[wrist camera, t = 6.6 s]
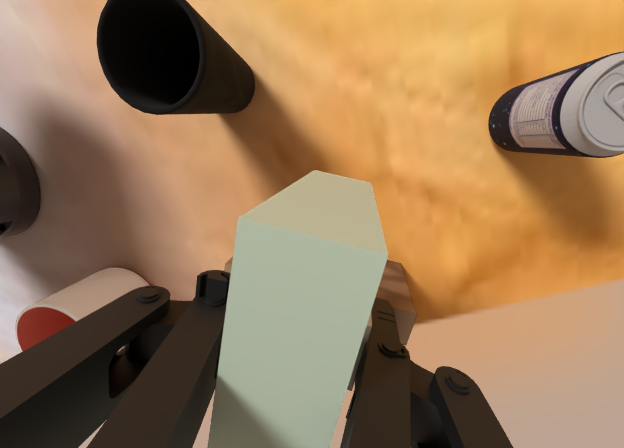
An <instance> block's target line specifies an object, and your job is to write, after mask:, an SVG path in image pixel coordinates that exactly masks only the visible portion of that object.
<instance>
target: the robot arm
mask: <svg viewBox="0 0 624 448" xmlns="http://www.w3.org/2000/svg"><path fill="white" fill-rule="evenodd" d="M39 203H40V191H39V185H38V180H37V177H36V174H35V171H34V169H33V166H32V164H31V162H30V160H29V158H28V157H27V155H26V154H25V152H24V151H23V149H22V148H21V147H20V145H19V144H18V143H17V142H16V141H15V140H14V139H13V138H12V137H11V136H10V135H9V134H8V133H7V132H6V131H4V130H3V129H2V128H0V238H2V237H6V236H9V235H13V234H17V233H20V232H22V231H24V230H25V229H27V228H28V227H29V226H30V225H31V224H32V223H33V221H34V219H35V218H36V215H37V213H38V209H39ZM230 275H231V273H229V272H225V271H220V270H210V271H205V272H202V273H201V274H199V275H198V276H197V284H196V295H195V298H194V299H193V301H175V300H170V293H169V291H168V290H167V289H165V288H163V287H159V286H144V287H139V288H136V289H134V290H131V291H130V292H128V293H126V294H124V295H123V296H121V297H119V298H117V299H115V300H114V301H112V302H110V303H108V304H107V305H105V306H103V307H101V308H99V309H98V310H96V311H94V312H92V313H91V314H89V315H87V316H85V317H83V318H82V319H80V320H78V321H76V322H75V323H73V324H71V325H69V326H67V327H66V328H64V329H62V330H60V331H59V332H57V333H55V334H53V335H51V336H50V337H48V338H46V339H44V340H43V341H41V342H39V343H37V344H35V345H34V346H32V347H30V348H28V349H27V350H25V351H23V352H21V353H19V354H18V355H16V356H14V357H12V358H11V359H9V360H7V361H5V362H3V363H2V364H0V448H78V447H79V446H80V445H81V444H82V443H83V442H84V441H85V440H86V439H87V438H88V437H89V436H90V435H91V434H92V433H93V432H94V431H95V430H97V428H98V427H100V426H101V425H102V424H103V423H104V422H105V423H104V424H103V426H102V427H101V428H100V430H99V431H98V433H97V434H96V435H95V437H94V438H93V439H92V441H91V442H90V444H89V445H88V446H87V448H192V447H193V444H194V442H195V439H196V436H197V434H198V431H199V429H200V426H201V424H202V421H203V418H204V416H205V413H206V411H207V408H208V405H209V403H210V400H211V398H212V395H213V393H214V390H215V387H216V381H217V373H218V366H219V358H220V351H221V343H222V336H223V328H224V321H225V313H226V305H227V298H228V290H229V283H230ZM123 346H124V348H123V349H121V348H122V347H123ZM120 349H121V350H120ZM119 350H120V351H119ZM354 382H355V390H354V394H353V397H352V400H351V403H350V406H349V409H348V412H347V415H346V418H347V421H346V425H345V430H344V434H343V438H342V443H341V447H340V448H513V446H512V445H511V443H510V441H509V439H508V437H507V436H506V434H505V432H504V430H503V429H502V427H501V425H500V423H499V422H498V420H497V418H496V416H495V415H494V413H493V411H492V409H491V408H490V406H489V404H488V402H487V400H486V399H485V397H484V395H483V394H482V392H481V390H480V388H479V387H478V386H477V384H476V383H475V382H474V381H473V380H472V379H471V378H470V377H469V376H467V375H466V374H465V373H463V372H461V371H459V370H457V369H454V368H451V367H446V366H442V367H439V368H437V370H436V372H435V374H433V373H432V372H430V371H428V370H426V369H424V368H422V367H420V366H418V365H417V364H415V363H414V362H412V361H411V360H410V356H409V351H408V350H407V349H406V347H405V346H404V345H403V344H401V343H400V338H399V333H398V328H397V323H396V317H395V312H394V308H393V307H392V305H391V304H390V303H389V301H388V300H384V299H380V298H376V297H375V300H374V303H373V307H372V310H371V313H370V316H369V320H368V323H367V326H366V329H365V332H364V336H363V339H362V342H361V345H360V349H359V352H358V355H357V358H356V362H355V365H354V368H353V371H352V375H351V378H350V381H349V384H348V387H347V390H351V391H352V388H353V385H354ZM105 420H106V421H105Z"/></svg>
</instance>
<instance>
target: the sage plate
mask: <svg viewBox="0 0 624 448" xmlns="http://www.w3.org/2000/svg"><path fill="white" fill-rule="evenodd" d="M387 258H388V252H387V248H386V243H385V239H384V235H383V231H382V226H381V222H380V218H379V214H378V209H377V205H376V201H375V196H374V192H373V188H372V184H371V183H370V182H366V181H361V180H357V179H353V178H348V177H344V176H340V175H335V174H331V173H326V172H322V171H318V170H314V171H312V172H310V173H309V174H307V175H306V176H304V177H302V178H301V179H299V180H298V181H296V182H294V183H293V184H291V185H290V186H288V187H286V188H285V189H283V190H282V191H280V192H278V193H277V194H275V195H274V196H272V197H270V198H269V199H267V200H266V201H264V202H262V203H261V204H259V205H258V206H256V207H255V208H253V209H251V210H250V211H248V212H247V213H245V214H243V215H242V216H240V217H239V218H238V223H237V230H236V238H235V245H234V253H233V260H232V268H231V275H230V283H229V290H228V298H227V305H226V313H225V321H224V328H223V336H222V343H221V351H220V358H219V366H218V373H217V381H216V388H215V396H214V403H213V411H212V418H211V426H210V433H209V441H208V448H329V446H330V443H331V439H332V436H333V433H334V429H335V426H336V423H337V420H338V417H339V413H340V410H341V407H342V404H343V400H344V397H345V394H346V391H347V387H348V384H349V381H350V378H351V375H352V371H353V368H354V365H355V362H356V358H357V355H358V352H359V349H360V345H361V342H362V339H363V336H364V332H365V329H366V326H367V323H368V320H369V316H370V313H371V310H372V307H373V303H374V300H375V297H376V294H377V290H378V287H379V284H380V281H381V277H382V274H383V271H384V268H385V265H386V261H387Z"/></svg>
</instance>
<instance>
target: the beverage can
mask: <svg viewBox="0 0 624 448" xmlns="http://www.w3.org/2000/svg"><path fill="white" fill-rule="evenodd" d="M489 132H490V135H491V137H492V139H493V140H494V142H495V143H496V144H497V145H498V146H500V147H501V148H503V149H505V150H508V151H514V152H527V153H541V154H554V155H568V156H581V157H595V158H605V157H612V156H617V155H620V154H623V153H624V52H618V53H613V54H610V55H607V56H604V57H601V58H598V59H595V60H592V61H589V62H587V63H584V64H581V65H578V66H575V67H572V68H569V69H566V70H563V71H560V72H558V73H555V74H552V75H549V76H546V77H543V78H540V79H537V80H534V81H531V82H529V83H526V84H523V85H520V86H517V87H515V88H512V89H511V90H509V91H507V92H506V93H505V94H503V95H502V96H501V97H500V98H499V99H498V101H497V102H496V103H495V105H494V106H493V108H492V110H491V113H490V116H489Z"/></svg>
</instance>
